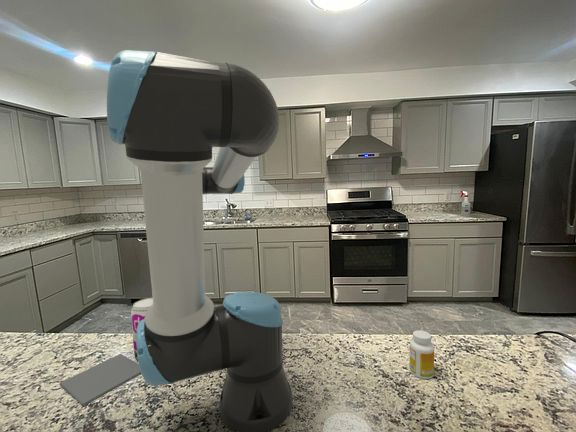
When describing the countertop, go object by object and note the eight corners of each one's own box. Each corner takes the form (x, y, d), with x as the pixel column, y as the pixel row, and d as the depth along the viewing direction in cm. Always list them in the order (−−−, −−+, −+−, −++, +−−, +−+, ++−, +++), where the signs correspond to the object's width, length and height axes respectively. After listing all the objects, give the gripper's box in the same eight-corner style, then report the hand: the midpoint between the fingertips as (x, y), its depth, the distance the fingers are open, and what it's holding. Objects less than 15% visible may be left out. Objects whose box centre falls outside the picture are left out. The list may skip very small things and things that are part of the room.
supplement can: (154, 363, 74) (150, 309, 72) (127, 360, 75) (123, 307, 74) (172, 347, 82) (169, 297, 80) (148, 344, 83) (144, 296, 82)
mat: (146, 370, 71) (146, 368, 71) (82, 406, 59) (82, 404, 59) (121, 355, 78) (120, 353, 78) (59, 384, 66) (59, 382, 66)
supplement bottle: (436, 371, 67) (437, 333, 67) (430, 383, 63) (430, 342, 63) (413, 362, 71) (414, 326, 70) (406, 373, 67) (406, 334, 66)
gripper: (187, 212, 92) (191, 280, 94) (149, 215, 81) (155, 293, 83) (202, 212, 88) (206, 284, 90) (164, 216, 77) (169, 298, 79)
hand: (181, 288), depth 87 cm, fingers closed
